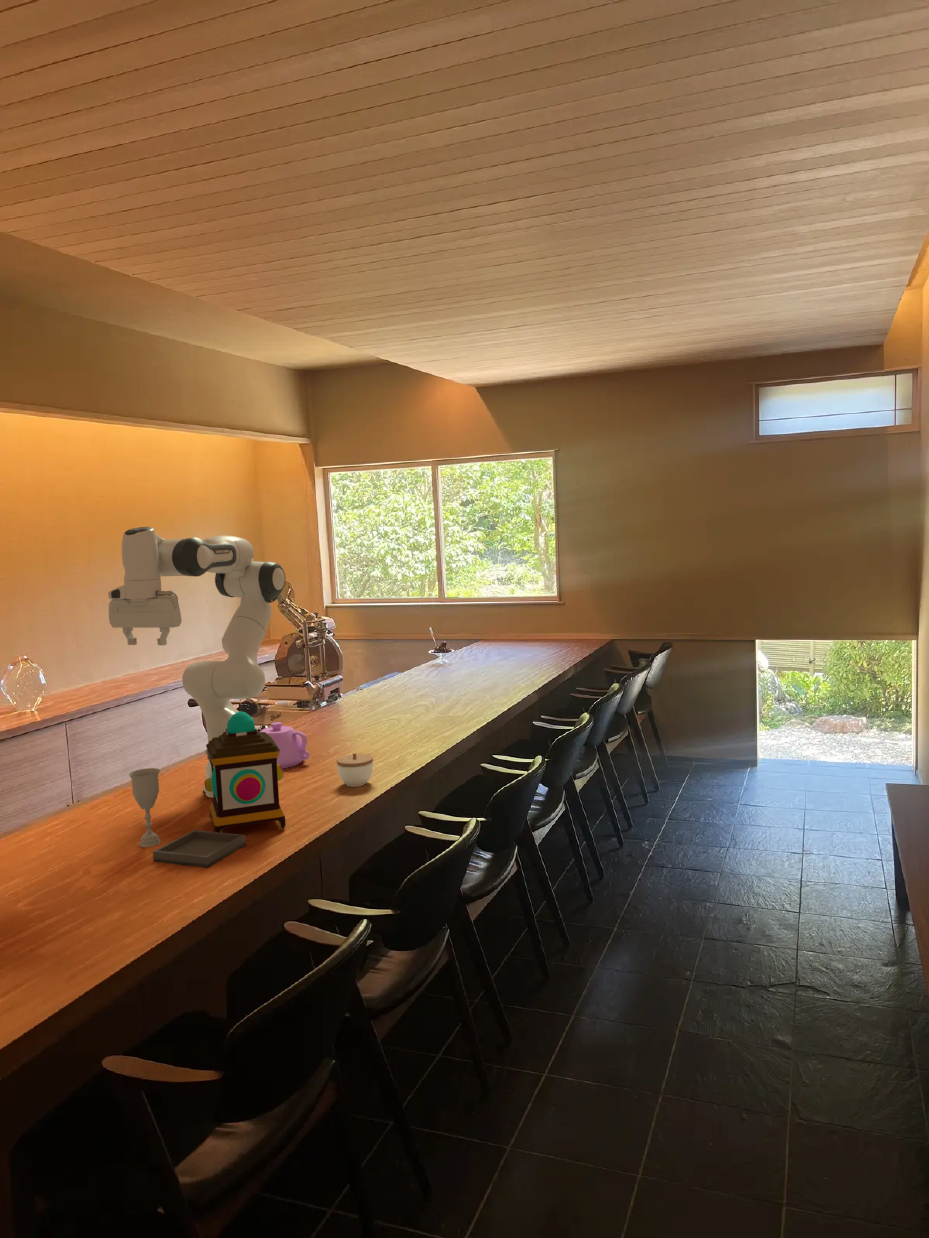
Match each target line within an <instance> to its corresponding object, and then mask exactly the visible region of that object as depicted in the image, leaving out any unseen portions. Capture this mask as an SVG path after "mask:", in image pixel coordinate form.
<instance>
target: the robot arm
mask: <svg viewBox="0 0 929 1238" xmlns="http://www.w3.org/2000/svg"><path fill="white" fill-rule="evenodd" d="M254 557H255V551H254V547H253V545H252V544H251V542H250V541H248V540H247V539H245V538H243V537H239V536H236V535H235V536H234V535H227V534H226V535H213V536H211V537H207V538H205V539H201V538H199V537H187V538H179V539H178V538H177V539H173V538H172V539H165V538H164V537H161V536H160V535H159V534H157V533H156V531H155V528H153V527H151V526H141V527H133V528H129V529H127V530H125V532H124V533H123V535H122V538H121V563H122V566H123V568H124V576H123V585H121V586H118V587H116V588H114V589H111V590H110V591H108V594H107V595H108V596H107V597H108V599H109V600H110V601H109V603H108V621H109V624H110V626H111V627H112V628H113V629H115V628H117V629H118V628H122V634H123V635H124V636H125V638H126V640H127V645H128V646H134V645H135V646H137V644H138V642H137V640H138V639H137V637H134V635H133V633H132V632H133V630H134V629H135V628H138V629H139V628H144V629H145V628H146V629H147V628H149V629H151V628H152V629H153V628H155V629H156V628H157V629H159V632H160V633H161V634H160V636H159V637H158V638H156V641H157V646H167V643H168V641H167V638H168V636H169V634H170V631H171V629H170V628H178V627H180V626H181V624H182V622H183V621H182V613H181V608H180V604H179V597H178V594H176V593H175V592H174V591H172V590H167V591H166V590H162V581H161V580H162V579H161V577H183V576H184V577H201V576H202V575H205V573H213V574H215V576H214V585H215V587H216V589H217V591H218V593H220V595H222V596H223V597H227V598H240V604H239V606H238V607H237V609H236V610H235V612H234V613H233V615H232V617H231V619H230V622H229V623H228V626H227V627H226V629H225V631H224V633H223V635H222V636H223V637H221V645H222V646H221V647H222V649H223V650H224V651H225V653H226V654H227V655H228V656H227V658H226V659H225V660H202V661H198V662H194V663H190V664H188V665H187V667H186V668H185V670H183V674H182V677H181V678H182V679H181V680H182V681H181V682H182V686H183V689H184V691H185V692H186V693H187V694H188V695H189V696H190V697H192V699H194V701H195V703H197V705H198V706H199V709H200V710H201V712H202V715H203V718H204V721H205V724H206V725H205V726H206V733H207V735H206V736H207V743H208V742H209V741H211V740H212V738H215V737H219V736H220V735H222V734H223V732H226V729H227V723H228V720H229V719H230V718H231V717H232V715H234V714H235V713H237V712H239V709H236V708H235V707H234V705H233V704H232V702H231V700H245V699H251V698H255V697H258V696H259V695H261V693H262V692H263V690H264V688H265V684H266V676H265V671H264V670H263V668H262V666H260V665H259V663H258V660H257V659H258V657H257V656H258V652H259V650H260V647H261V645H262V642H263V640H264V637H265V636H266V633H267V630H268V627H269V625H270V621H271V617H272V613H273V612H272V611H273V608H272V606H271V603H274V602H275V601H277V599H278V598H279V596H280V595H281V593H282V591H283V590H284V588H285V585H286V574H285V571H284V569H283V567H282V566H281V565H280V564H279V563H277V562H274V561H255V560H254V559H255V558H254ZM253 560H254V561H253ZM133 628H134V629H133ZM206 755H207V756H206V759H207V760H208V762H207V763H206V766H205V780H206V779H208V778H211V776H212V768H211V759H210V756H209V753H208V750H207V749H206ZM203 791H204V793H205V796H206V797H208V798H212V799H213V791H212V792H209V791H207V790H206V789H205V785H204V786H203Z"/></svg>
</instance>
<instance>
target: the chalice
mask: <svg viewBox="0 0 929 1238" xmlns="http://www.w3.org/2000/svg"><path fill="white" fill-rule="evenodd" d="M160 772H161V769H159V768H155V767H153V768H152V767H151V768H150V767H149V768H142V769H136V770H134V771H131V772H129V773H128V776H129V778H130V779H131V789H132V795H133V797H134V800H135V802H136V803H137V805H138V806H139V807H140V809H141V810H144V811H145V815H144V817H143V818H144V819H145V823H144V826H145V828H146V832H145V833H144V834H142V836H141V839H140V842H139V844H138V847H141V848H150V847H155V846H158V845H159V844H161V840H160V837H159V836H158V834H157V833H156V832H153V830H152V825H153V823H152V822H151V818H152V815H151V813H150V810H151V809H152V808H153V807H155V803H156V801H157V799H158V795H159V792H160V785H159V774H160Z"/></svg>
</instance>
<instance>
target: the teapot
mask: <svg viewBox="0 0 929 1238" xmlns="http://www.w3.org/2000/svg"><path fill="white" fill-rule="evenodd" d="M259 731H260V732H265V733H266V734H268V735H269V736H270V737H271V738H272V739H273V740H274V742H275V743H276V745H277V746H278V748H279V749H280V753H279V756H278V758H277V764H280V765H281V766H282V769H283V770H284V769H289V768H292V767H295V766H298V765H299V763H300V764H301V763H302V762H303V761H305V760H308V759H309V758H310V756H311V755H310V752H309V750H307V749H306V748H307V744H308V737H307V735H306V734H305V733H304V732H302V731H299V730H297V731H296V730H295V729H294V727H292V726H287V725H285V726H284V725H283V722H280V721H277V722H272V723H270V727H266V728H263V729H261V730H259ZM288 767H289V768H288Z"/></svg>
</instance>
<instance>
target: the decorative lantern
mask: <svg viewBox="0 0 929 1238" xmlns="http://www.w3.org/2000/svg"><path fill="white" fill-rule="evenodd" d="M238 711H239V710H238ZM260 731H261V730H258V729H257V728H256V726H255V719H254V718H253V717H252V716H251V715H250V714H248V713H247V712H244V711H241V710H240V711H239V712H237V713H235V714H234V715H232V717H231V718H230V719H229V720H228V723H227V729H226V732H223V734H222V735H220V736H219V737H215V738H212V740H211V741H209V742H208V741H207V743H206V744H205V747H206V751H207V750H208V753H209V756H210V759H211V768H212V776H211V778H208V779H206V778H205V780H204V786H205V789H206V790H207V791H209V792H212V791H213V798H212V802H211V804H210V806H209V817H210V820H211V821H212V825H213V830H214V831H213V832H220V833H223V832H222V831H223V830H224V829H227V828H228V829H229V828H233V827H240V826H247V825H255V824H261V823H266V822H267V823H268V822H274V821H277V822H278V825H279V826H278V827H279V829H280V830H284V829H286V828H285V827H286V815H285V813H284V811H283V809H282V807H281V805H280V795H279V793H280V792H279V781H281V780H282V779H283V778H284V768H283V769H282V766H281V765H280V764H277V758H278V756H279V753H280V749H279V748H278V746H277V745H276V743H275V742H274V740H273V739H272V738H271V737H270V736H269V735H268V734H266V733H265V732H260Z"/></svg>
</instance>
